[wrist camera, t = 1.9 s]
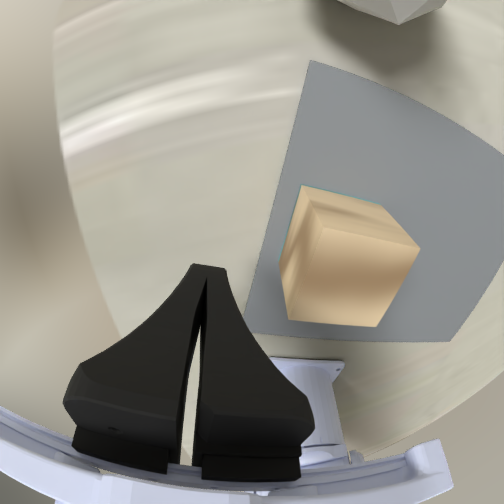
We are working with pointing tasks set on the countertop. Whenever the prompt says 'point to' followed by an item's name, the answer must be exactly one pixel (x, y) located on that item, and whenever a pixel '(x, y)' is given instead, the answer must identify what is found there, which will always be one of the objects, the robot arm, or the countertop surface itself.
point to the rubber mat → (390, 205)
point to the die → (395, 8)
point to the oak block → (342, 259)
